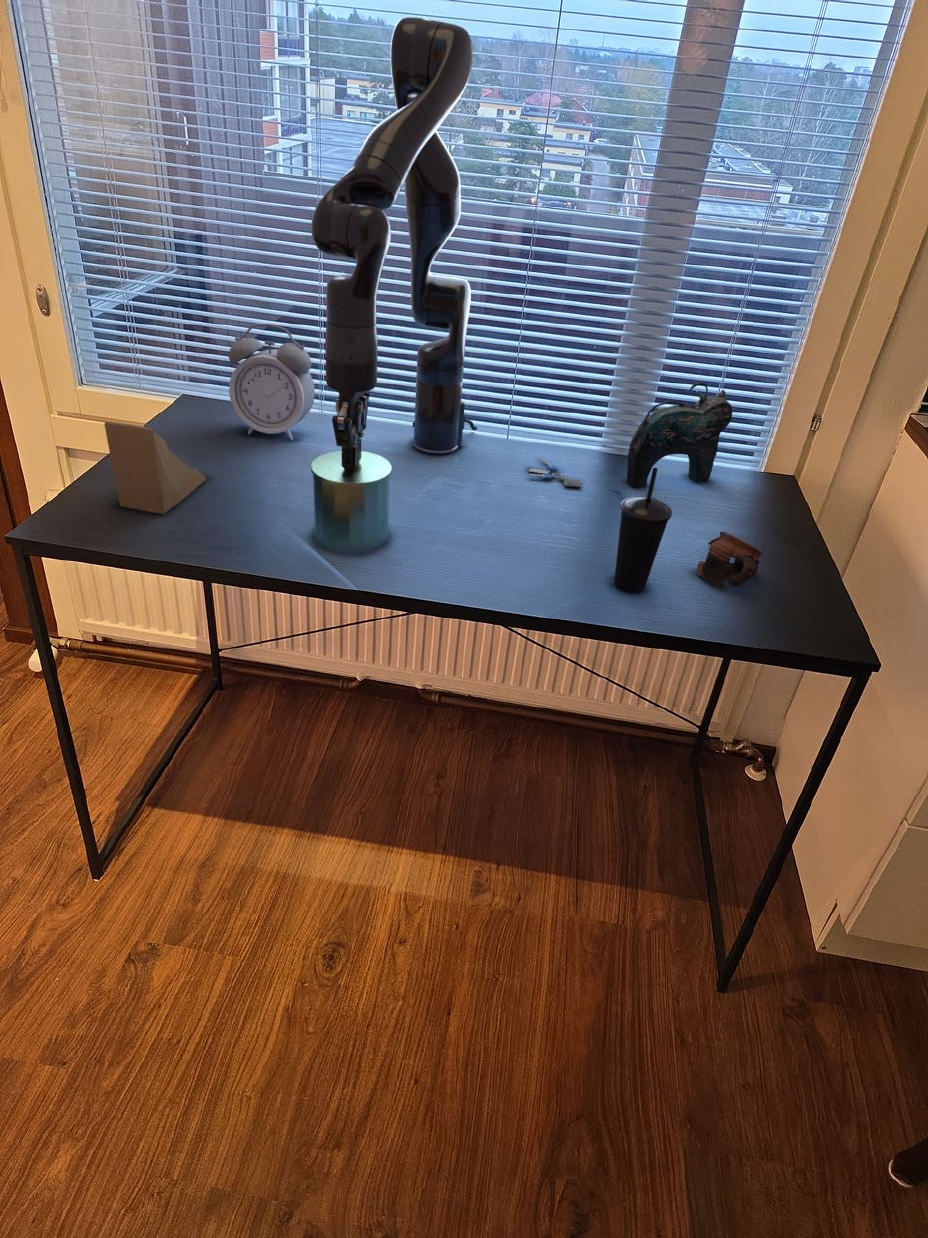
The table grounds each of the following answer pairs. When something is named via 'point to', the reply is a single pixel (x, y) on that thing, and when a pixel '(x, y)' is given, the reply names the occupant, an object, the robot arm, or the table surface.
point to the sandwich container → (148, 469)
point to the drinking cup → (639, 539)
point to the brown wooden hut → (719, 561)
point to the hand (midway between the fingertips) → (351, 463)
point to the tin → (351, 515)
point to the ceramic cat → (679, 436)
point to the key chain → (566, 481)
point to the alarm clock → (270, 384)
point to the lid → (364, 474)
